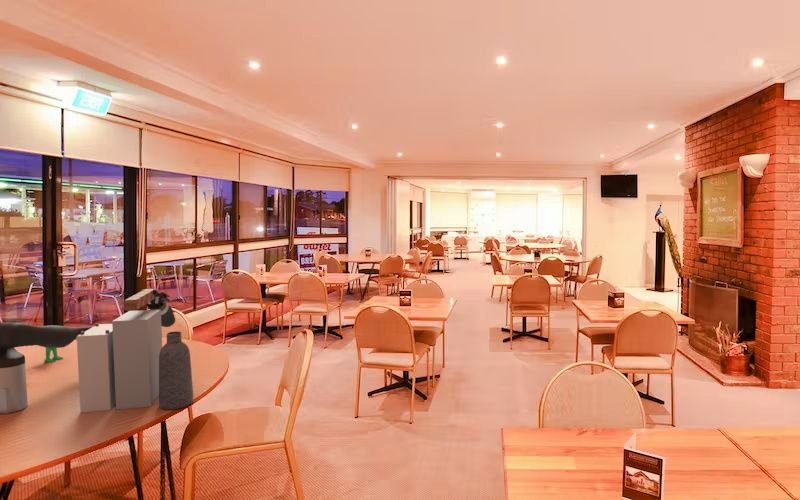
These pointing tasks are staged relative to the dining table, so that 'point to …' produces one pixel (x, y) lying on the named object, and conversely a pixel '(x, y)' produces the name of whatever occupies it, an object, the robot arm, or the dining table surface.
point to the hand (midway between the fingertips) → (148, 291)
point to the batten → (139, 300)
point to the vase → (175, 374)
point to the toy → (53, 354)
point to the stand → (120, 362)
